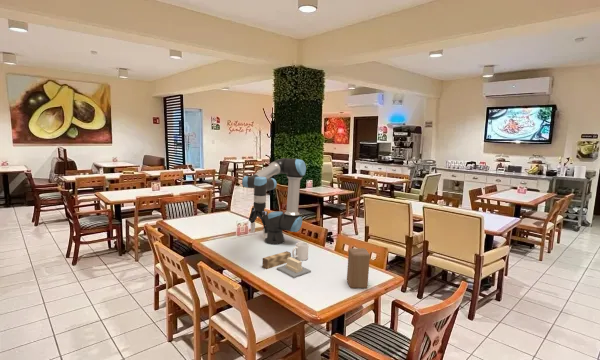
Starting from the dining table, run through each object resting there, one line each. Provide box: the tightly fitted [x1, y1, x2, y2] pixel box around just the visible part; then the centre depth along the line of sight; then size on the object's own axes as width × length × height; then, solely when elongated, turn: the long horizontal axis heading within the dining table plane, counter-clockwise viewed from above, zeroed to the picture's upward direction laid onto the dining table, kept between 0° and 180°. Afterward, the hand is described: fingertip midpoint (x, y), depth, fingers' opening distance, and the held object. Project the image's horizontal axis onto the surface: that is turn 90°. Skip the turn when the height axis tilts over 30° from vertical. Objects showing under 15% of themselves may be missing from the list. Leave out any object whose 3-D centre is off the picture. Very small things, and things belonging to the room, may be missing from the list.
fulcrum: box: [276, 256, 312, 279], centre depth 205 cm, size 14×16×7 cm
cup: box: [291, 241, 309, 262], centre depth 224 cm, size 8×12×10 cm
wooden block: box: [346, 247, 371, 289], centre depth 189 cm, size 10×10×20 cm
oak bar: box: [262, 250, 292, 270], centre depth 214 cm, size 20×4×6 cm, turn 133°
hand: (258, 235), depth 209 cm, fingers open, 13 cm apart
